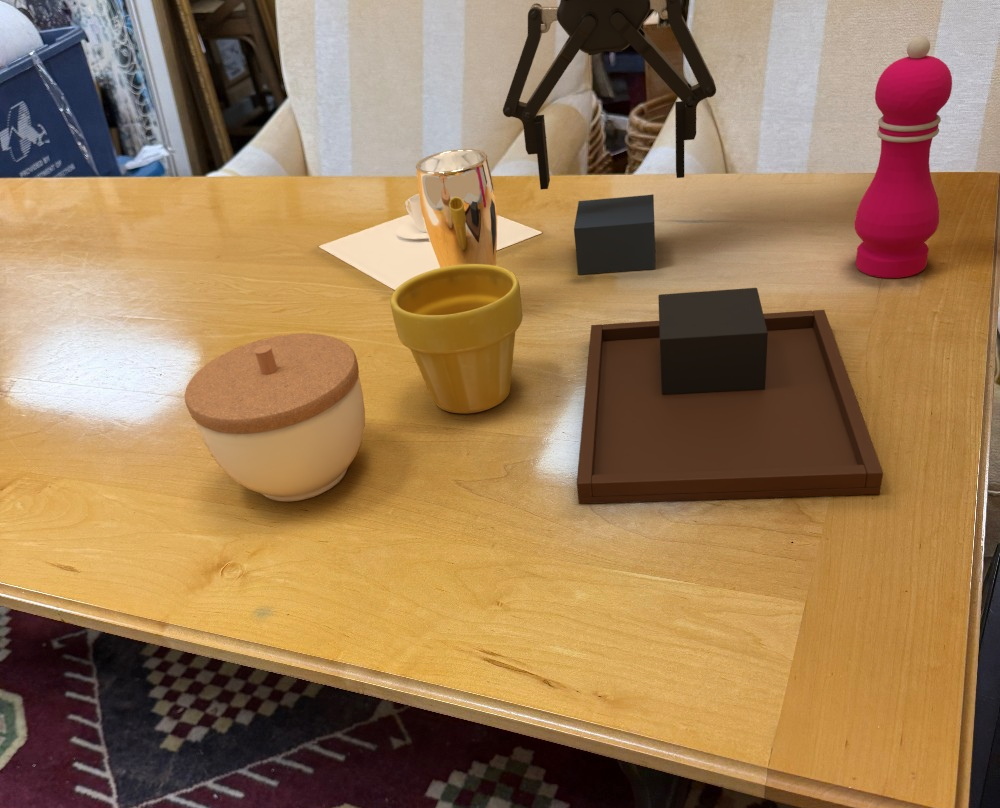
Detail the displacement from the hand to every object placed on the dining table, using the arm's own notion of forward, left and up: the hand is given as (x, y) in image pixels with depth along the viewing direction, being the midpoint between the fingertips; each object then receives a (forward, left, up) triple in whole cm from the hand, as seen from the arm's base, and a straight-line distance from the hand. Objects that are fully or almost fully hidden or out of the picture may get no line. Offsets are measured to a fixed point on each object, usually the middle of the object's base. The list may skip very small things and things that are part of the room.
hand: (611, 179), depth 92 cm
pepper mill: (-26, +7, -9) cm, 28 cm away
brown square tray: (-8, +31, -8) cm, 33 cm away
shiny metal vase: (+14, +11, -9) cm, 20 cm away
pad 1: (0, 0, -8) cm, 8 cm away
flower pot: (+12, +27, -9) cm, 31 cm away
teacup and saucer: (+23, -10, -9) cm, 26 cm away
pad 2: (-8, +26, -8) cm, 28 cm away
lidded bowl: (+24, +38, -9) cm, 46 cm away
